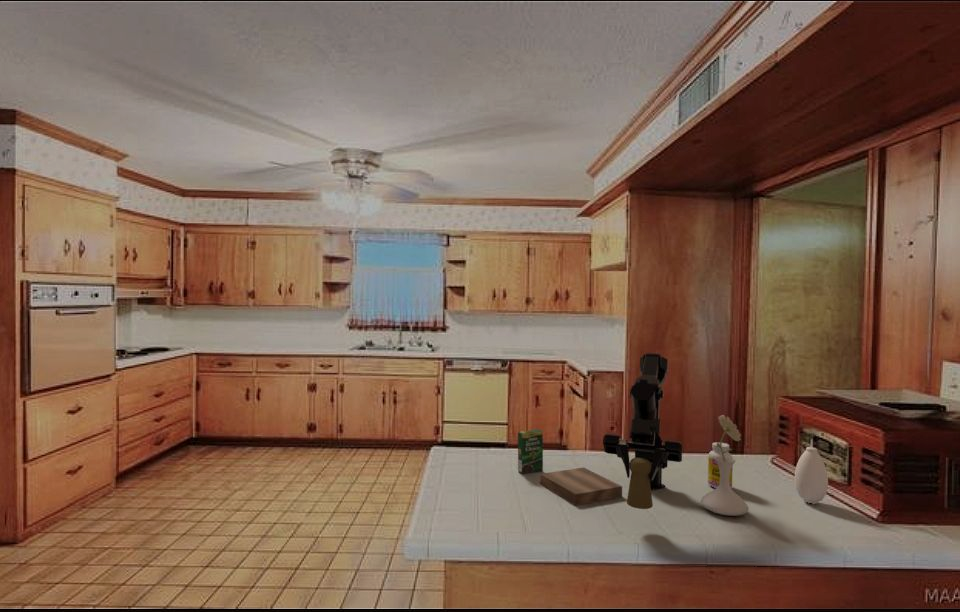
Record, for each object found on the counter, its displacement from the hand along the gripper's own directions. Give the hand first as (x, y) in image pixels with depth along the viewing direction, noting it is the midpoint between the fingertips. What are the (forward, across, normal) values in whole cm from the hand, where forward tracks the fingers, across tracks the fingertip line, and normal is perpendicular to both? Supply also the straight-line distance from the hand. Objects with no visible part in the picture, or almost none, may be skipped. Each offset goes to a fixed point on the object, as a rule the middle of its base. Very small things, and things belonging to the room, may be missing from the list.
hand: (639, 478), depth 124 cm
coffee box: (-13, -36, +31) cm, 50 cm away
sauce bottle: (-18, +43, +36) cm, 59 cm away
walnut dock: (-6, -18, +24) cm, 31 cm away
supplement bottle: (-20, +20, +39) cm, 48 cm away
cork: (+4, 0, +6) cm, 7 cm away
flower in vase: (-7, +20, +25) cm, 33 cm away
